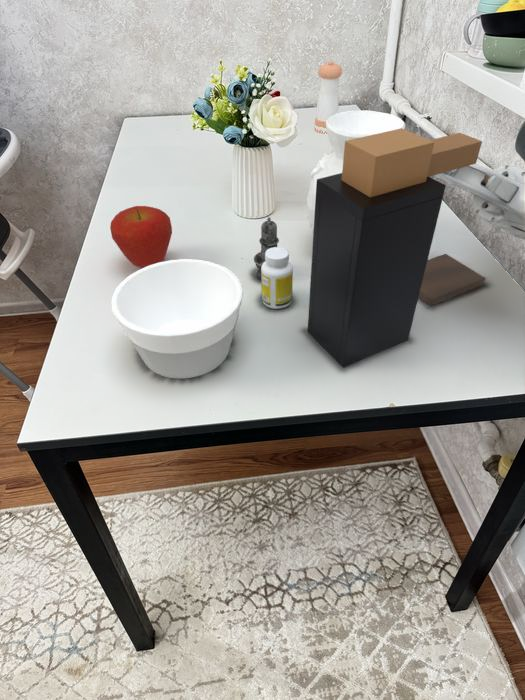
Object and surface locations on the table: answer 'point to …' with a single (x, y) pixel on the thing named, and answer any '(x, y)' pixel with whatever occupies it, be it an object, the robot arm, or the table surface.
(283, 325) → the table surface
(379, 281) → the tall black box
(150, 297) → the bowl
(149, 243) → the apple
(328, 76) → the salt shaker
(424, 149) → the brown stepped block
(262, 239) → the dark grey tall piece
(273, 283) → the supplement bottle
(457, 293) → the board
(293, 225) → the table surface
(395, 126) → the pitcher
